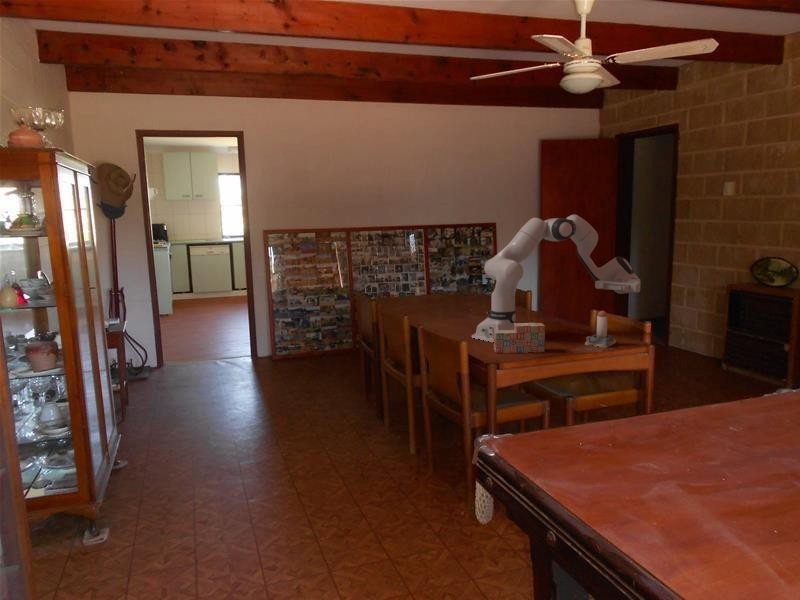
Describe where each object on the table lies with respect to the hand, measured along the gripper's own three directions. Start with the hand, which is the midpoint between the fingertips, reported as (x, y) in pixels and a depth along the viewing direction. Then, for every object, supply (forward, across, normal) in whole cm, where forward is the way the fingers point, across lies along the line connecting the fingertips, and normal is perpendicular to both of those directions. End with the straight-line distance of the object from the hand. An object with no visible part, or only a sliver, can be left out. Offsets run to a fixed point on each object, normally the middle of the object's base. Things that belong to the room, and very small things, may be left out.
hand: (612, 287), depth 276 cm
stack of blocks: (+43, -25, +26) cm, 56 cm away
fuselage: (+12, 0, +24) cm, 27 cm away
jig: (+10, 0, +25) cm, 27 cm away
